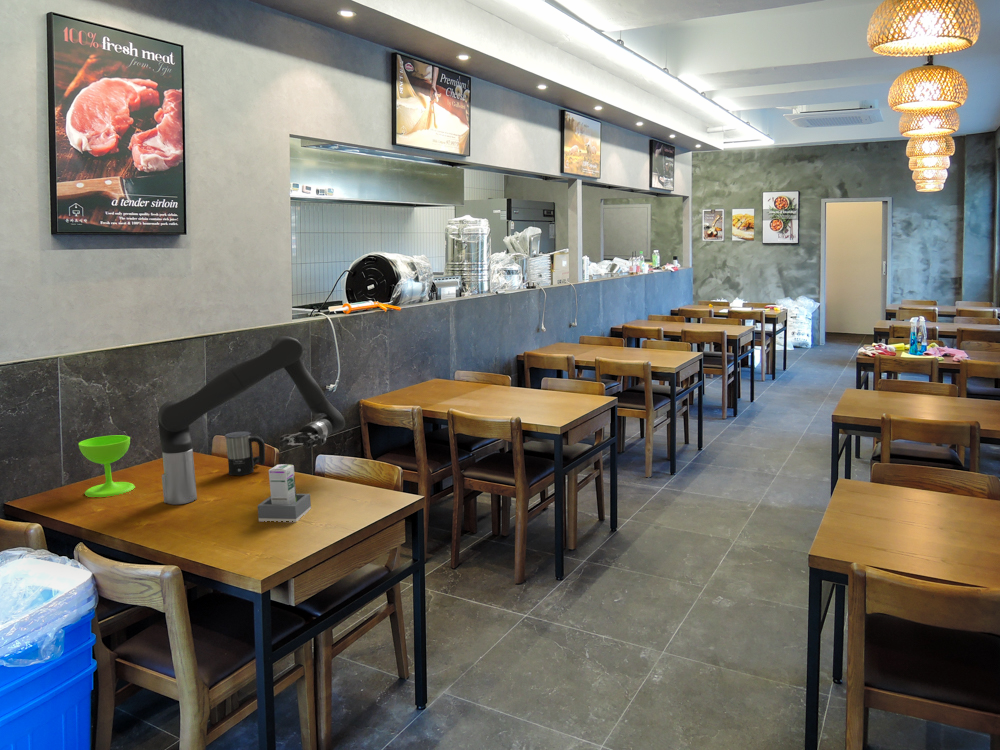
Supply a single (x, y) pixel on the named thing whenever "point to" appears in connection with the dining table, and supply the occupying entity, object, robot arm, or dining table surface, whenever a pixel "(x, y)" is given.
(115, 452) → the wineglass
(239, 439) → the milk frother
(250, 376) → the robot arm
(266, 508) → the socket box
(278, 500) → the syrup box
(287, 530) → the dining table surface
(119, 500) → the dining table surface
